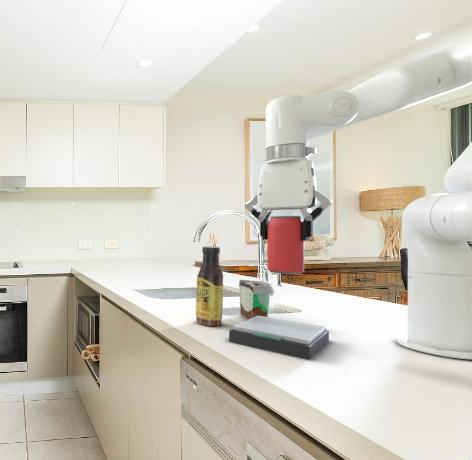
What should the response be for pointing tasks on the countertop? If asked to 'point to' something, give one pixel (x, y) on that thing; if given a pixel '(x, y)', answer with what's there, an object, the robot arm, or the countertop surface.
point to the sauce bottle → (209, 289)
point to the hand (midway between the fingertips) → (285, 239)
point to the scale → (280, 336)
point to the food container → (254, 298)
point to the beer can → (285, 245)
